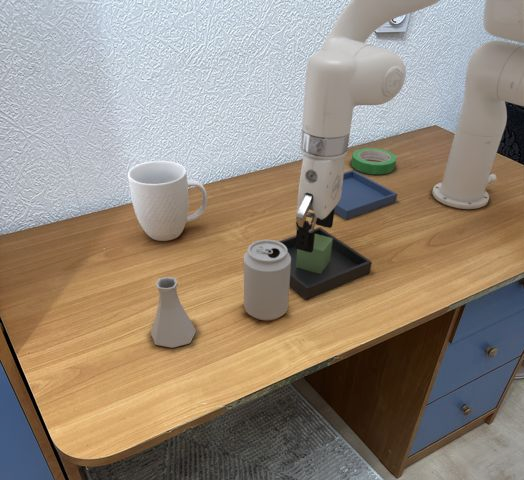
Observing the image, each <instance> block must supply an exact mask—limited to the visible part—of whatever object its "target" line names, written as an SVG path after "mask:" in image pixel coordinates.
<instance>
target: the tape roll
mask: <svg viewBox="0 0 524 480" xmlns="http://www.w3.org/2000/svg"><path fill="white" fill-rule="evenodd" d="M396 162H397V156H396V155H395V153H393V152H391V151H388V150H387V149H386V150H385V149H382V148H375V147H365V148H359V149H357V150H354V151H353V153H352V157H351V162H350V163H351V167H352V168H353V170H356V172H359V173H362V174H367V175H376V176H377V175H387V174H389V173H392V172H393V171H395V168H396Z"/></svg>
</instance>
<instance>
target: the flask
mask: <svg viewBox="0 0 524 480" xmlns="http://www.w3.org/2000/svg"><path fill="white" fill-rule="evenodd" d="M178 284H179V283H178V280H177V278H176V277H172V276H165V277H160V278H158V279H157V281H156V282H155V286H156V288H157V290H158V305H157V309H156V313H155V317H154V321H153V324H152V327H151V330H150V331H151V332H150V335H151V338H152V341H153V343H154V345H155V346H160V347H166V348H171V349H174V348H177V347H181V346H185V345H188V344H191V342H192V341H193V339H194V337H195V335H196V333H197V331H196V329H195V326H194V325H193V322H192V320H191V319H190V317H189V315H188V313H187V312H186V310H185V308H184V306H183V304H182V303H181V301H180V298H179V295H178V290H177V287H178V286H179V285H178Z"/></svg>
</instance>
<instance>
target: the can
mask: <svg viewBox="0 0 524 480" xmlns="http://www.w3.org/2000/svg"><path fill="white" fill-rule="evenodd" d="M290 268H291V256H290V254H289V253H288V249H287V247H286V246H285V245H284V244H282V243H281V242H279V241H278V240H273V239H259V240H256V241H254V242H252V243H251V244H249V246H248V247H247V251H246V252H245V253H244V255H243V308H244V309H245V312H246V313H247V314H248V316H251V317H252V318H254V319H256V320H260V321H274V320H277V319H279V318H280V317H282V316H283V315H285V314H286V313H287V311H288V310H289V299H290V298H289V296H290V286H289V284H290Z"/></svg>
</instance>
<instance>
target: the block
mask: <svg viewBox="0 0 524 480" xmlns="http://www.w3.org/2000/svg"><path fill="white" fill-rule="evenodd" d="M332 241H333V238H330V237H326V236H322V235H318V234H315V239H314V248H313V251H312V252H311V253H310V252H306V251H302V250H299V249H297V261H296V267H297V268H300V269H304V270H308V271H311V272H315V273H318V274H321V273H322V272H323V270H324V269H325V267H326V266H327V265H328V263H329V262H330V257H331V249H332Z"/></svg>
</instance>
